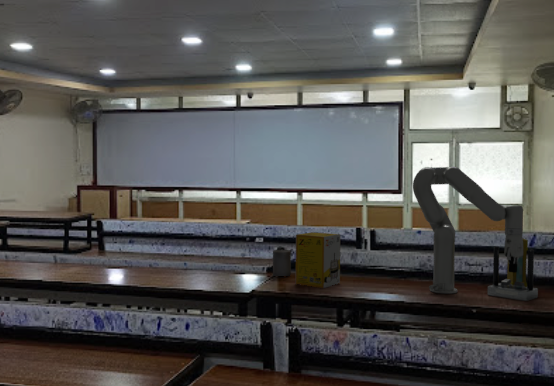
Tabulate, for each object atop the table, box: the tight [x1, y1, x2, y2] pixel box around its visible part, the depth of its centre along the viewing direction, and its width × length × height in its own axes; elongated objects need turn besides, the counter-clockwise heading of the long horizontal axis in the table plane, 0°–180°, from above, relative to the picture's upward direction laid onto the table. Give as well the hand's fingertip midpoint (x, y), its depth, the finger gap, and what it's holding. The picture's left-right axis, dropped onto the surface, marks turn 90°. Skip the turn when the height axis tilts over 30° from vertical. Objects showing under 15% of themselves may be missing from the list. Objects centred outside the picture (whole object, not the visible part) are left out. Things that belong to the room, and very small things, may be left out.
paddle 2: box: [515, 282, 524, 286], centre depth 268 cm, size 4×2×2 cm, turn 134°
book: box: [506, 238, 529, 287], centre depth 286 cm, size 17×7×25 cm, turn 168°
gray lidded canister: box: [272, 249, 292, 277], centre depth 319 cm, size 10×10×15 cm
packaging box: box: [295, 231, 341, 289], centre depth 296 cm, size 16×16×25 cm
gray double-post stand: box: [487, 245, 539, 302], centre depth 270 cm, size 12×18×22 cm, turn 44°
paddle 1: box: [500, 278, 511, 286], centre depth 272 cm, size 4×2×2 cm, turn 134°
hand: (512, 271), depth 270 cm, fingers closed
